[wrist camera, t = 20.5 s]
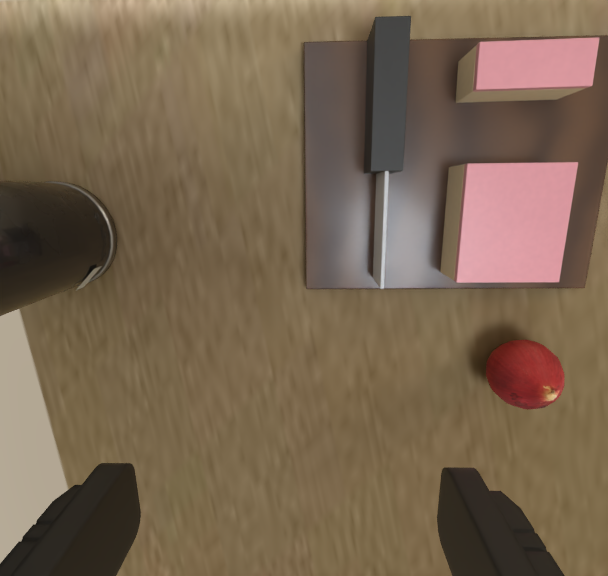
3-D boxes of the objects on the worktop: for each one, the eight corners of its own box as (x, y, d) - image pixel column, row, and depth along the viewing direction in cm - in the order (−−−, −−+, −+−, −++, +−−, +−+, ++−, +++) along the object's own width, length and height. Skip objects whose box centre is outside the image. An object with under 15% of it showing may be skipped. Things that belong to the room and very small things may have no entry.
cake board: (306, 286, 35) (306, 289, 34) (304, 46, 30) (303, 41, 29) (577, 285, 35) (585, 288, 34) (620, 39, 30) (631, 34, 29)
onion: (531, 380, 37) (589, 430, 29) (472, 385, 37) (513, 435, 30) (534, 324, 36) (595, 361, 28) (472, 330, 36) (516, 368, 28)
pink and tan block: (455, 102, 30) (475, 89, 26) (458, 61, 29) (479, 41, 26) (556, 99, 30) (592, 86, 26) (562, 57, 29) (600, 36, 25)
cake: (439, 272, 34) (456, 282, 30) (448, 166, 31) (467, 163, 28) (530, 272, 33) (559, 282, 30) (545, 165, 31) (578, 162, 27)
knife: (367, 39, 29) (375, 16, 25) (398, 39, 29) (411, 15, 25) (361, 277, 34) (367, 288, 30) (387, 277, 34) (397, 288, 30)
